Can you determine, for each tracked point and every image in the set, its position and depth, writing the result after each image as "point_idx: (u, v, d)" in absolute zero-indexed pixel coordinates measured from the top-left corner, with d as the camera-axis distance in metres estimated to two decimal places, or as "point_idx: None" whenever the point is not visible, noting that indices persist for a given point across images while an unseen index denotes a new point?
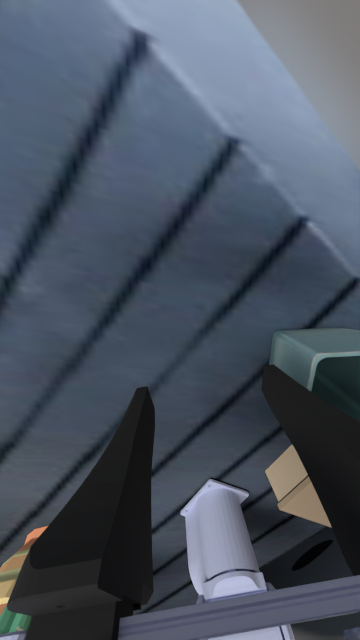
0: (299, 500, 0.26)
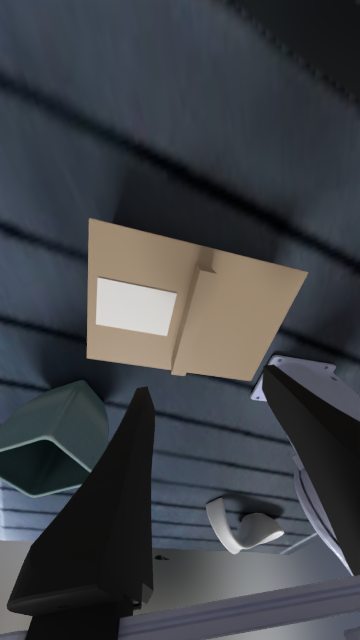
0: (230, 368, 0.19)
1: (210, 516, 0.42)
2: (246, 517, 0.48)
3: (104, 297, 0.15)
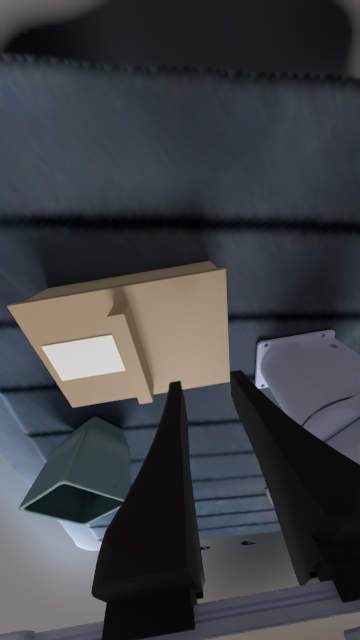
0: (201, 377, 0.19)
1: None
2: None
3: (55, 359, 0.16)
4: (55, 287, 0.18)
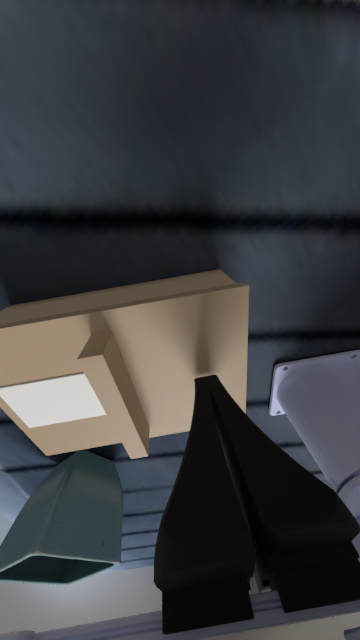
0: None
1: None
2: None
3: (16, 403, 0.12)
4: (19, 304, 0.14)
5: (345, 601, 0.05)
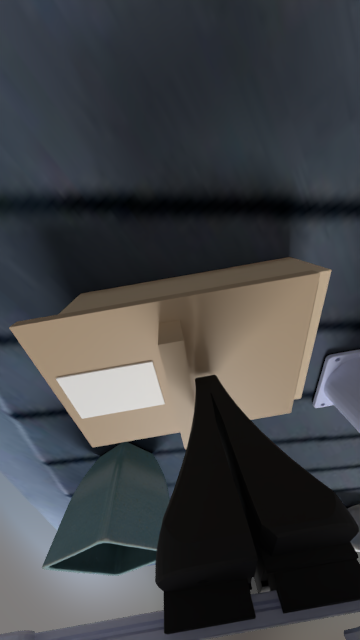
0: (258, 409, 0.15)
1: None
2: (348, 510, 0.42)
3: (74, 393, 0.12)
4: (91, 292, 0.14)
5: (344, 602, 0.05)
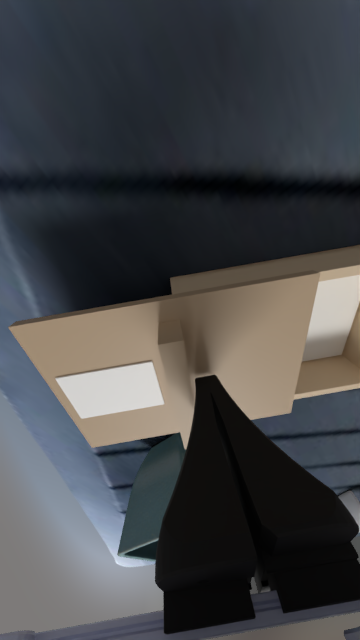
0: (257, 409, 0.15)
1: None
2: None
3: (74, 393, 0.12)
4: (182, 276, 0.14)
5: (343, 601, 0.05)
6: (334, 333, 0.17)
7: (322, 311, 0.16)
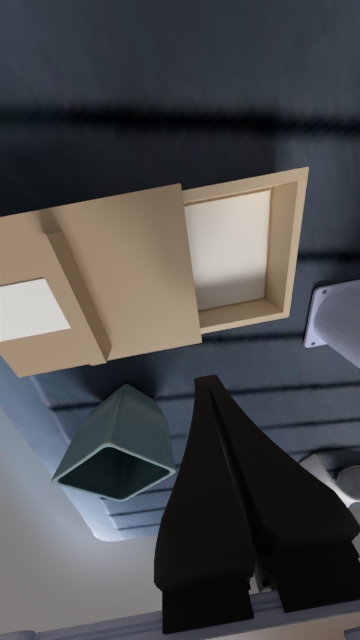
0: (168, 337, 0.16)
1: None
2: (343, 472, 0.44)
3: None
4: None
5: (345, 602, 0.05)
6: (251, 273, 0.18)
7: (233, 249, 0.17)
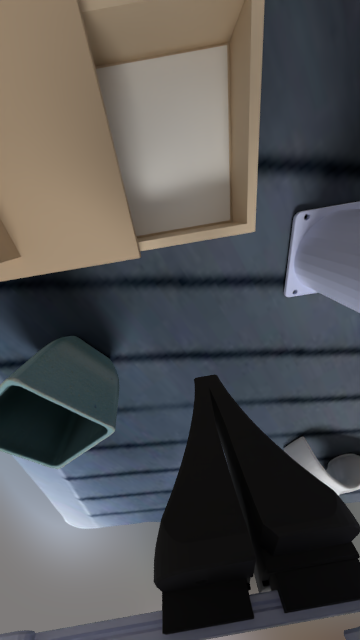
0: (93, 246, 0.12)
1: None
2: (334, 460, 0.40)
3: None
4: None
5: (345, 601, 0.05)
6: (211, 182, 0.15)
7: (185, 142, 0.13)
